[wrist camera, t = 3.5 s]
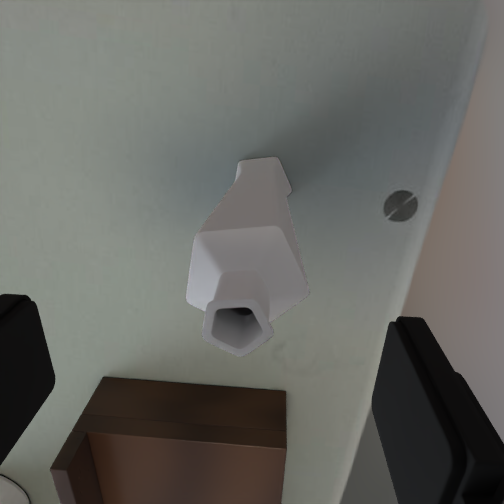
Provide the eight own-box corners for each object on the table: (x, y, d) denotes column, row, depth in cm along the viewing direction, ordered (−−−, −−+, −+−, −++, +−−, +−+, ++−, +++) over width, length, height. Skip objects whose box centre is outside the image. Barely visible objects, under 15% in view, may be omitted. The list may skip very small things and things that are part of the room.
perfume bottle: (262, 131, 23) (235, 222, 10) (308, 184, 24) (340, 329, 11) (210, 180, 25) (125, 317, 11) (256, 227, 26) (228, 401, 13)
